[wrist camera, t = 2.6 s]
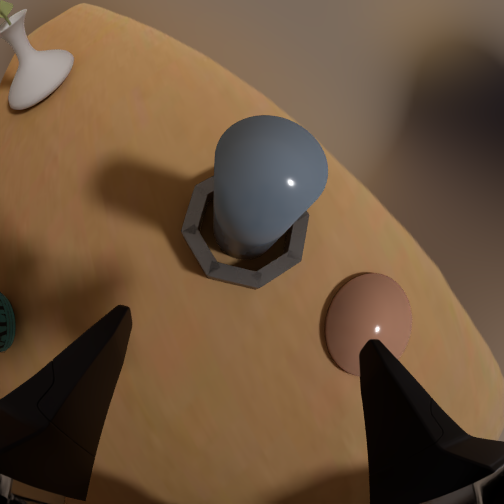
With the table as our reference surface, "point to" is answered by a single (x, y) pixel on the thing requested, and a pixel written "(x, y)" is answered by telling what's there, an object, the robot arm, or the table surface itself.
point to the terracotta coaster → (367, 319)
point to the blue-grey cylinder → (263, 182)
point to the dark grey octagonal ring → (231, 273)
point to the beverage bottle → (6, 323)
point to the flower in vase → (31, 63)
